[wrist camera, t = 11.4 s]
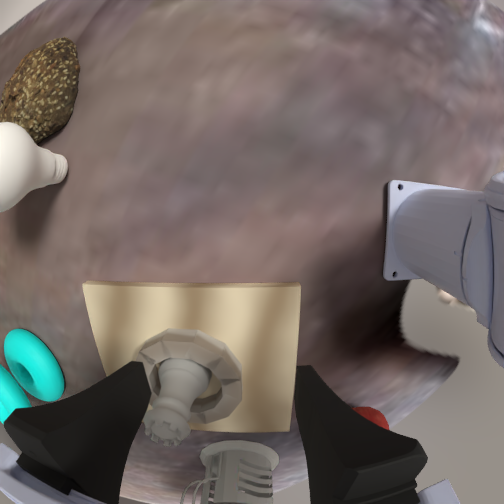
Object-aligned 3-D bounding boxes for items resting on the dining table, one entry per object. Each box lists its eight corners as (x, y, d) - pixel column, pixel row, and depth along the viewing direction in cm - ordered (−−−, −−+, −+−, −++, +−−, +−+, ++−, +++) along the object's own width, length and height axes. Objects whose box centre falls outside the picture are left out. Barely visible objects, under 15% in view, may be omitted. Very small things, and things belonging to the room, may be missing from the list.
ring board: (298, 282, 20) (305, 296, 17) (288, 424, 24) (291, 445, 21) (88, 280, 21) (69, 291, 18) (126, 412, 24) (117, 430, 21)
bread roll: (76, 136, 18) (41, 127, 13) (2, 163, 18) (-29, 163, 14) (95, 25, 16) (71, 4, 11) (18, 66, 16) (-7, 56, 11)
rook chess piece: (162, 340, 21) (126, 404, 13) (215, 351, 21) (199, 423, 13) (162, 380, 21) (134, 444, 14) (210, 390, 22) (196, 460, 14)
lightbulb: (72, 215, 19) (-25, 236, 9) (34, 187, 19) (-54, 196, 8) (99, 149, 18) (0, 130, 8) (57, 127, 18) (-31, 109, 7)
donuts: (-43, 360, 13) (-15, 365, 12) (4, 327, 22) (42, 321, 22) (2, 430, 15) (43, 448, 14) (37, 390, 24) (81, 394, 24)
